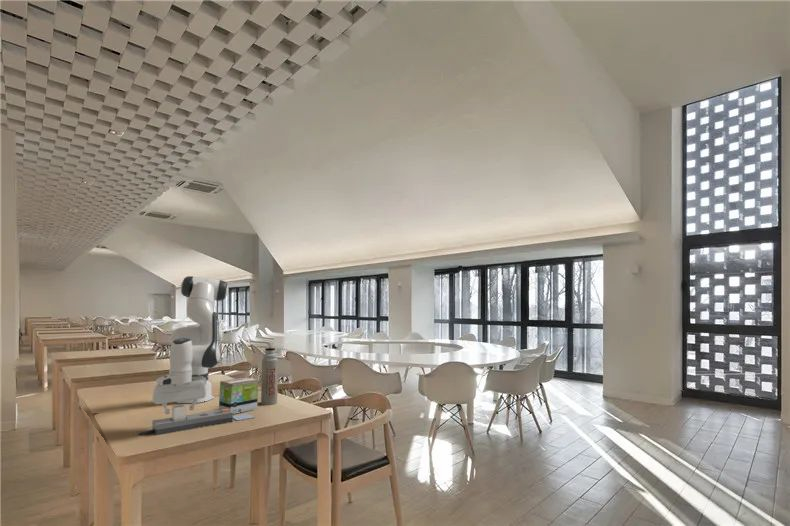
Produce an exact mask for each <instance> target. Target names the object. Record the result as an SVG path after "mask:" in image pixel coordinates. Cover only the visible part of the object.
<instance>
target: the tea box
mask: <svg viewBox="0 0 790 526" xmlns="http://www.w3.org/2000/svg"><path fill="white" fill-rule="evenodd" d="M219 384H220V385H219V398H218V399H219V403H218V410H223V409H230V411H231V412H232V413H233V415H236V414H241V413H246V412H250V410H251V411H256V410H257V409H258V400H259V399H258V397H259V396H258V395H259V393H258V392H259V390H258V389H259V379H258V378H257V379H256V378H253V377H239V378H235V379H226V380H220V383H219ZM255 409H256V410H255ZM240 412H241V413H240Z"/></svg>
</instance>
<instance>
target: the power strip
mask: <svg viewBox="0 0 790 526" xmlns="http://www.w3.org/2000/svg"><path fill="white" fill-rule="evenodd" d="M233 416H234V414H233V413H232V412H231V411H230V409H223V410H219V409H218V410H212V411H206V412H200V413H193V414H192V413H191V414H186V419H185V420H179V421H172V417H165V418H160V419H154V420H152V426H151V429H150V430H144V431H139V432H138V436H142V435H143V434H144V435H148V434H149V433H150V434H155V435H156V436H158V434H159V435H165V434H170V433H171V434H172V433H176V431H177V432H181V430H183V431H187V429H188V430H192V429H193V428H194V429H198V427H200V428H204V427H203V426H206V427H210V426H209V425H212V426H216V425H215V424H218V425H222V424H221V423H223V424H228V423H227V422H229V423H233V421H234V419H233ZM194 429H193V430H194ZM150 434H149V435H150Z"/></svg>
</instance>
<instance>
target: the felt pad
mask: <svg viewBox="0 0 790 526" xmlns="http://www.w3.org/2000/svg"><path fill="white" fill-rule="evenodd" d="M255 417H256V416H253V415H252V414H250V413H244V414H240V415H239V414H237V415H233V420H234V419H235V420H234V421H236V420H237V421H236V422H239V421H238V420H241V421H245V419H247V420H252V419H251V418H253V419H255Z"/></svg>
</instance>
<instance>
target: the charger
mask: <svg viewBox="0 0 790 526" xmlns="http://www.w3.org/2000/svg"><path fill="white" fill-rule="evenodd" d="M186 415H187V406H186V405H184V404H177V405H172V406H171V418H172V421H179V420H185V419H186Z"/></svg>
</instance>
